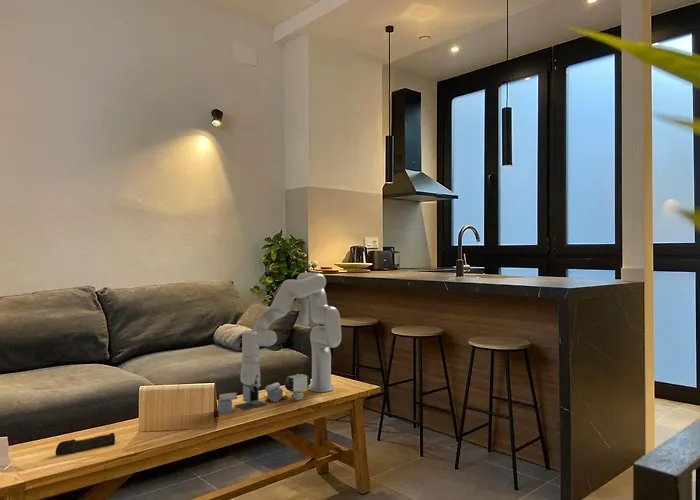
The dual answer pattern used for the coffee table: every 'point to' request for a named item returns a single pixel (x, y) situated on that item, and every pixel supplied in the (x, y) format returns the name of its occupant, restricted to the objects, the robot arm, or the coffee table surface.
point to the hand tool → (84, 444)
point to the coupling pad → (250, 405)
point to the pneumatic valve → (297, 385)
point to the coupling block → (248, 394)
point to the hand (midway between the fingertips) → (251, 398)
